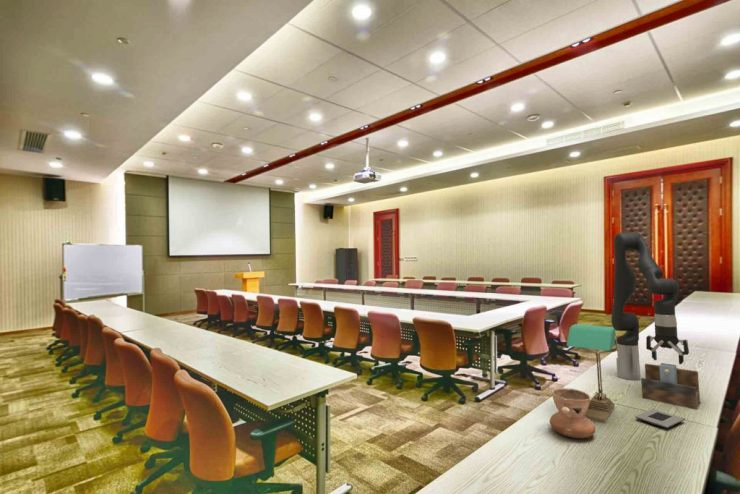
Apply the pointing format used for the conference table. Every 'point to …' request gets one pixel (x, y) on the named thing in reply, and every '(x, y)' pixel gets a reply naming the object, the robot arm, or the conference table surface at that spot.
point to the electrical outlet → (659, 418)
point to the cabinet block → (668, 373)
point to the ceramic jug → (571, 413)
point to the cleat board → (671, 387)
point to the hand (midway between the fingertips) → (667, 361)
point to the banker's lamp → (599, 340)
